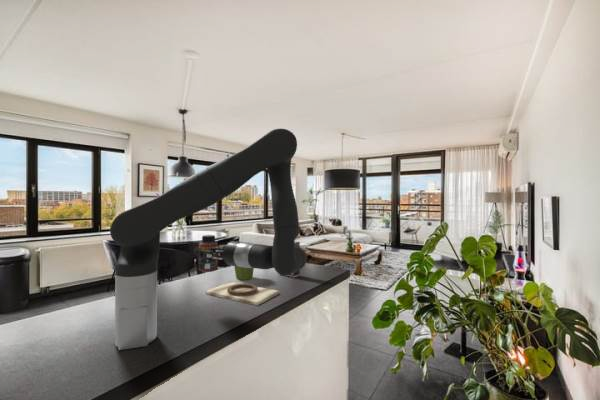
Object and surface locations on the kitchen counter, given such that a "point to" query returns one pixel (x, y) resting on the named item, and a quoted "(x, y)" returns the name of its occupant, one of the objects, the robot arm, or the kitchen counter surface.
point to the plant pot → (243, 273)
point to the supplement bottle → (204, 263)
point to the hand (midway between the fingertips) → (202, 249)
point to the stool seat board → (243, 293)
